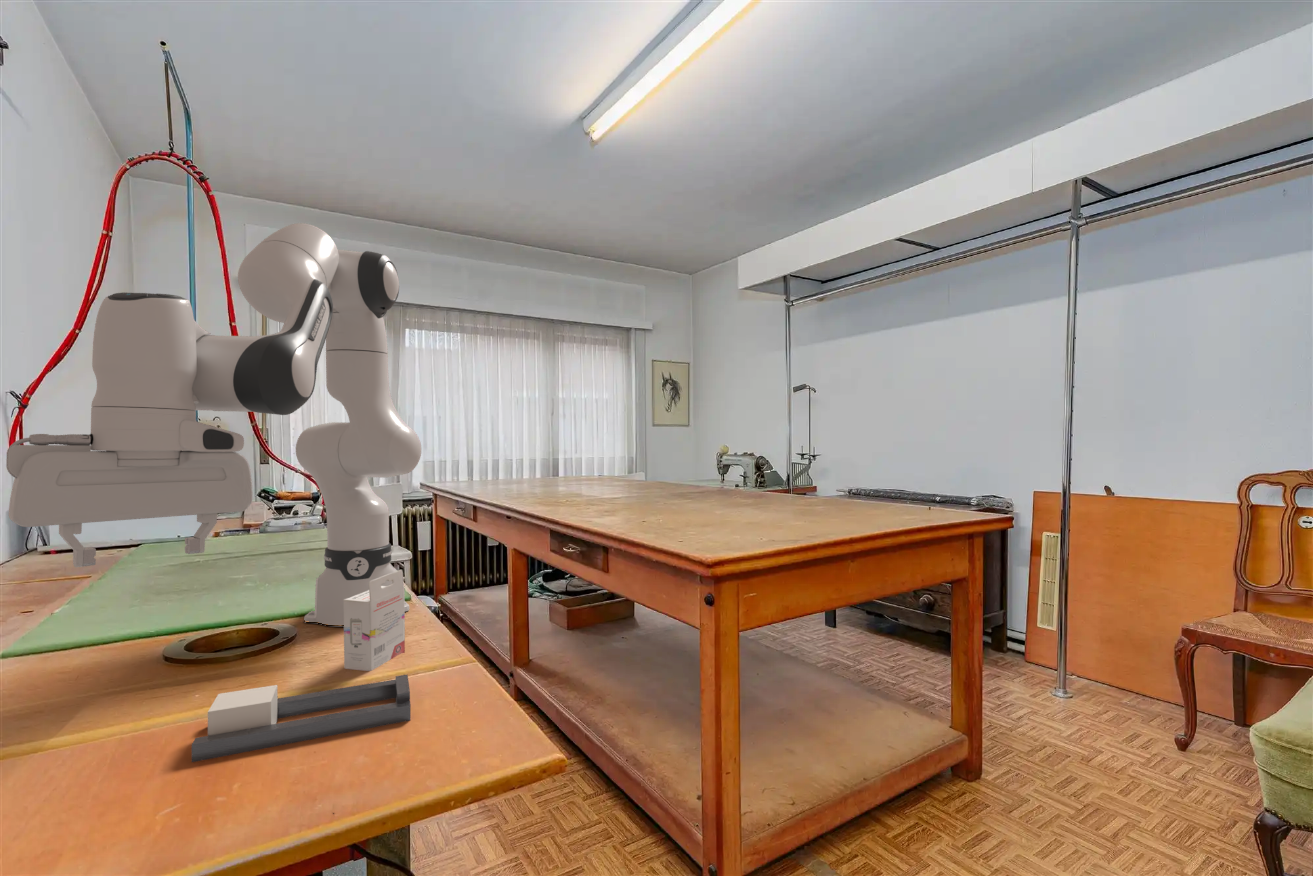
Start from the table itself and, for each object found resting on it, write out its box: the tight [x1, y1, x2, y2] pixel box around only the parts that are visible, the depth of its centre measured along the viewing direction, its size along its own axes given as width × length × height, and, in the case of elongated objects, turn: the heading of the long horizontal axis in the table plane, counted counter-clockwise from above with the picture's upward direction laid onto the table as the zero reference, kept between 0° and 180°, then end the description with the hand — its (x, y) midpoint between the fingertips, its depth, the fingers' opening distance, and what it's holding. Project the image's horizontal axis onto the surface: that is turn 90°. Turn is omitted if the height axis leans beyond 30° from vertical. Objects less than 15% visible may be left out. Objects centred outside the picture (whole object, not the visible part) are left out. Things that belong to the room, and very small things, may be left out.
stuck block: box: [207, 684, 278, 736], centre depth 69 cm, size 5×6×4 cm
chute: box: [191, 674, 412, 763], centre depth 72 cm, size 9×22×4 cm, turn 116°
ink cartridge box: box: [343, 569, 406, 672], centre depth 92 cm, size 9×5×15 cm, turn 168°
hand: (142, 559), depth 65 cm, fingers open, 8 cm apart
